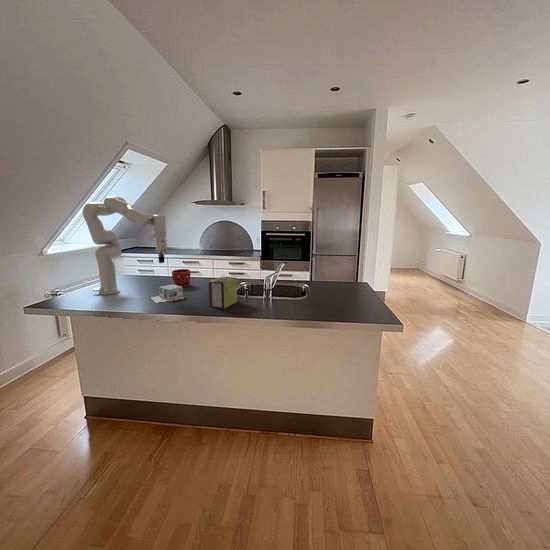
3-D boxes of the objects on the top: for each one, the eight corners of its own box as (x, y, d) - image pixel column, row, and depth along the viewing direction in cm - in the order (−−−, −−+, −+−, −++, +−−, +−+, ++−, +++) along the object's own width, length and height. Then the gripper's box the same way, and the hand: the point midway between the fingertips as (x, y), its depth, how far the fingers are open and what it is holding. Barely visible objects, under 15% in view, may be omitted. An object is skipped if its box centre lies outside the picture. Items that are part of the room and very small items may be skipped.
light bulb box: (159, 296, 190) (168, 299, 184) (158, 286, 188) (168, 289, 182) (173, 293, 198) (183, 296, 192) (172, 283, 197) (182, 286, 191)
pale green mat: (155, 303, 178) (155, 302, 177) (150, 297, 189) (150, 297, 189) (185, 298, 188) (185, 298, 188) (178, 293, 199) (178, 293, 199)
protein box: (237, 301, 184) (237, 277, 181) (224, 308, 170) (223, 282, 167) (223, 299, 188) (222, 275, 184) (209, 306, 174) (208, 281, 170)
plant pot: (176, 283, 227) (175, 268, 224) (193, 284, 226) (192, 269, 224) (169, 288, 214) (168, 272, 211) (187, 288, 213) (186, 272, 211)
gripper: (169, 235, 182) (170, 264, 186) (162, 233, 194) (164, 260, 198) (157, 235, 178) (158, 265, 182) (151, 233, 190) (152, 261, 194)
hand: (161, 262), depth 190 cm, fingers closed
